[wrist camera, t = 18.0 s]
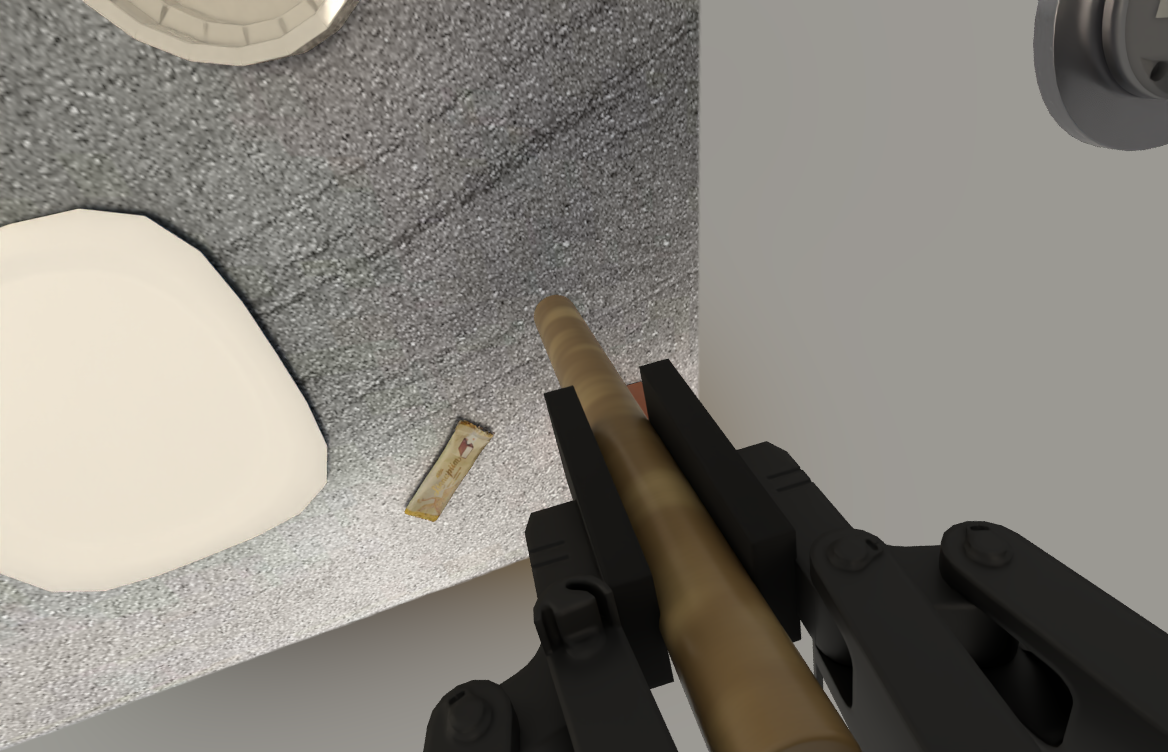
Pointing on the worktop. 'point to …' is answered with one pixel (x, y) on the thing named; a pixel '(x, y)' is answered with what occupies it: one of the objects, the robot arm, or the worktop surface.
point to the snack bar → (448, 471)
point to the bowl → (228, 26)
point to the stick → (694, 572)
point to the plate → (136, 407)
